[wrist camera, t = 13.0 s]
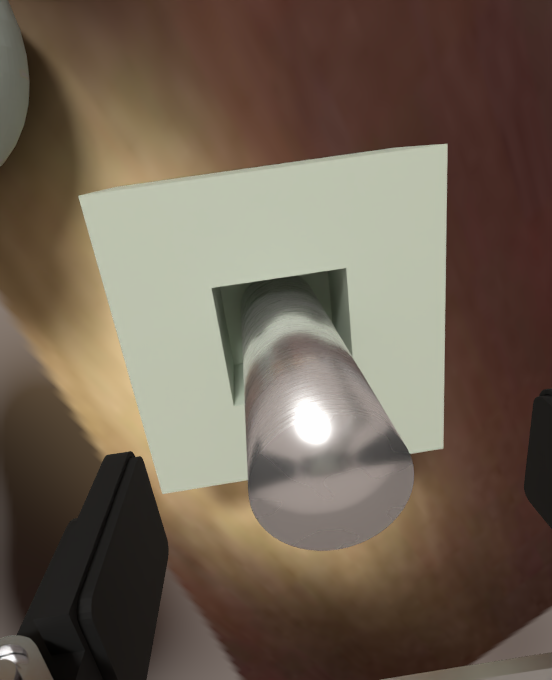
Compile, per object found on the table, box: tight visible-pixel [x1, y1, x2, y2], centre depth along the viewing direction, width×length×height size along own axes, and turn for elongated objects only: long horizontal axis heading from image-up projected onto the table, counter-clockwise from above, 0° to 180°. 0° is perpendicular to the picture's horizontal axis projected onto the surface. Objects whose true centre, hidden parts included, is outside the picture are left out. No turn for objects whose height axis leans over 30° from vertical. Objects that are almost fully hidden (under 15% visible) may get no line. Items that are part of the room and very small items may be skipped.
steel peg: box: [241, 275, 414, 551], centre depth 17 cm, size 4×4×14 cm
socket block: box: [78, 144, 447, 494], centre depth 22 cm, size 14×14×6 cm
